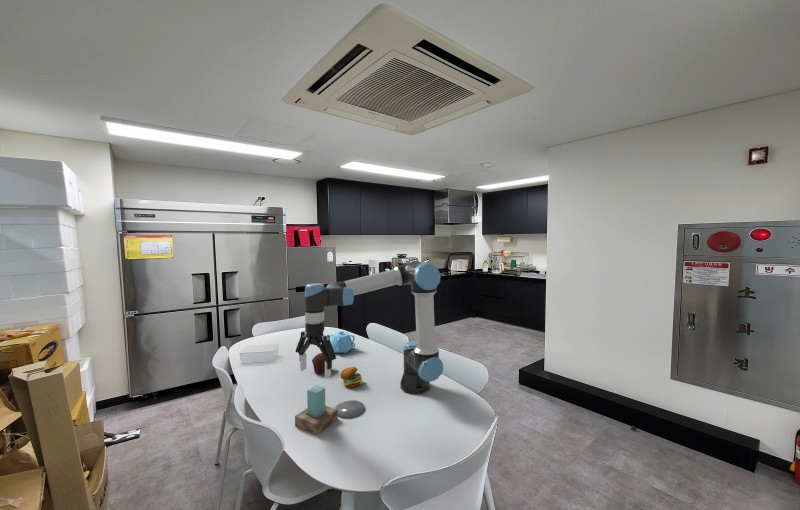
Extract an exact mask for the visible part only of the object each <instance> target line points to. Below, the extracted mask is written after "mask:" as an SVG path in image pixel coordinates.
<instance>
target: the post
mask: <svg viewBox="0 0 800 510" xmlns="http://www.w3.org/2000/svg"><path fill="white" fill-rule="evenodd" d="M306 393H307V399H306V400H307V401H306V402H307V403H306V404H307V408H308V416H310V417H313V418H316V419H317V418H319V417H320V416H322V415H323V414H324V413H325V406H326V387H324V386H323V387H322V386H321V385H317V384H315V385H314V386H312V387H310V388H309V389H307V390H306Z"/></svg>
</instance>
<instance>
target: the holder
mask: <svg viewBox="0 0 800 510" xmlns="http://www.w3.org/2000/svg"><path fill="white" fill-rule="evenodd" d="M338 419H339V416H338V410H337V409H335V407H331V406H328V405H325V413H324V414H323V415H322V416H320V417H319V418H317V419H316V418H313V417H310V416H308V407H307V408H305V409H304V410H303V411H301V412H299V413H297V414H296V415H294V426H295V427H297V428H300V429H302V430H304V431H307V432H310V433H312V434H314V435H319V434H320V433H321V432H322V431H324V430H325V429H326V428H328V427H329V426H330V425H331V424H333V423H334V422H336V421H337V420H338Z"/></svg>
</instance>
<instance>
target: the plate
mask: <svg viewBox="0 0 800 510" xmlns="http://www.w3.org/2000/svg"><path fill="white" fill-rule="evenodd" d="M334 409H337V410H338V418H342V419H352V418H357V417H359V416H360V415H362V414H363V413H364V411H365V404H364V403H363V402H361V401H359V400H353V399H352V400H351V399H350V400H345V401H341V402H340V403H338V404H337V405H336V406H335V407H334Z"/></svg>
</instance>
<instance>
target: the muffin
mask: <svg viewBox="0 0 800 510" xmlns="http://www.w3.org/2000/svg"><path fill="white" fill-rule="evenodd" d="M328 358H329V357H328ZM325 361H326V359H325V357H324V356H323V354H322V352H319V353H317V354H316V355H314V357H313V358H312V360H311V362H312V366H313V370H314V371H313V372H314V374H317V375H325Z"/></svg>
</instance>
